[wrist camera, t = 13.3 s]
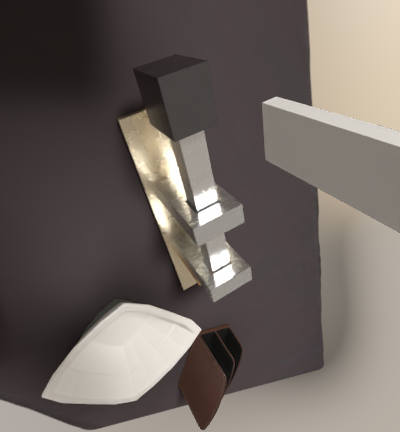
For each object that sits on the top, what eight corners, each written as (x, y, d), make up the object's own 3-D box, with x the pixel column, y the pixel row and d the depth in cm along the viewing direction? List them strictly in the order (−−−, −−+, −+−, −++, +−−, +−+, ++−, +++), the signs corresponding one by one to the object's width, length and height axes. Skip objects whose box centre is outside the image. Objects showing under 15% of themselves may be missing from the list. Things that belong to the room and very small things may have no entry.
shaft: (192, 258, 48) (214, 286, 43) (132, 68, 30) (157, 78, 25) (218, 244, 50) (241, 270, 45) (175, 54, 31) (207, 60, 26)
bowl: (125, 369, 65) (137, 405, 59) (24, 355, 49) (26, 403, 43) (191, 297, 63) (210, 327, 57) (107, 260, 48) (121, 295, 42)
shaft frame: (181, 287, 60) (216, 341, 50) (116, 118, 37) (155, 154, 27) (222, 263, 63) (263, 311, 52) (184, 93, 40) (243, 117, 30)
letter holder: (177, 382, 79) (201, 437, 69) (195, 331, 71) (226, 384, 61) (207, 372, 84) (234, 421, 74) (227, 323, 76) (261, 370, 66)
